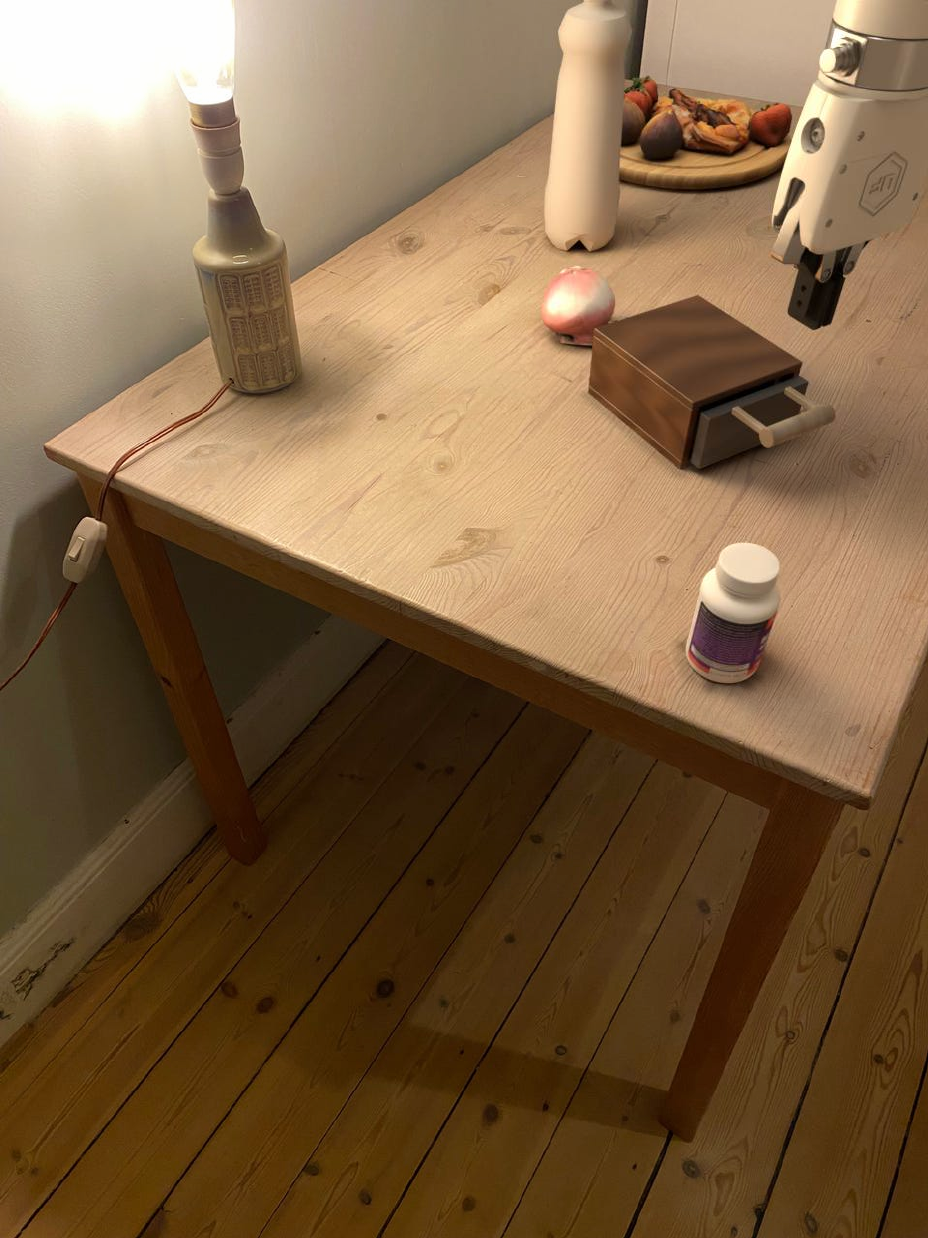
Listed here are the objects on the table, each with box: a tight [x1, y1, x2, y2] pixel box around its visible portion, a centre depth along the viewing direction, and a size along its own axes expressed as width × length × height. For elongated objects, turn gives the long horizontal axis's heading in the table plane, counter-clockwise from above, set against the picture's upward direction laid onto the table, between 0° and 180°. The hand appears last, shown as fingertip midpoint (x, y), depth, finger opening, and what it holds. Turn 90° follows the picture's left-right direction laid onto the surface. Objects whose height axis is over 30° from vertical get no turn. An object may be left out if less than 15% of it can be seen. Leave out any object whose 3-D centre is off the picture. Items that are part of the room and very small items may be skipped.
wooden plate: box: [619, 75, 793, 190], centre depth 132 cm, size 32×32×8 cm
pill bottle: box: [685, 542, 781, 684], centre depth 64 cm, size 5×5×10 cm
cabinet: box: [587, 294, 803, 470], centre depth 87 cm, size 15×13×7 cm
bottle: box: [543, 0, 633, 252], centre depth 104 cm, size 9×9×30 cm
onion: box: [540, 265, 618, 347], centre depth 97 cm, size 8×8×7 cm
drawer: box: [691, 375, 837, 470], centre depth 84 cm, size 19×11×6 cm, turn 30°
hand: (808, 319), depth 72 cm, fingers closed
